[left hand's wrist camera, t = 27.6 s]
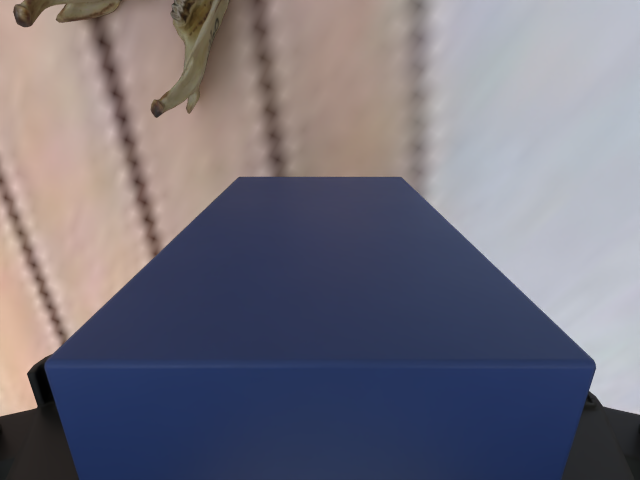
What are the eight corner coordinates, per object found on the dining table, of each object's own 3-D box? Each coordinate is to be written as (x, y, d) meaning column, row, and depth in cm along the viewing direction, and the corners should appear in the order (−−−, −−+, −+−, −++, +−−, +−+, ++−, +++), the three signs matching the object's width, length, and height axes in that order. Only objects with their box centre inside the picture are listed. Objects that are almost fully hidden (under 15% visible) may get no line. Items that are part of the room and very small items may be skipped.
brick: (402, 176, 16) (601, 362, 5) (390, 324, 18) (501, 677, 7) (237, 176, 16) (38, 362, 5) (249, 324, 18) (137, 677, 7)
